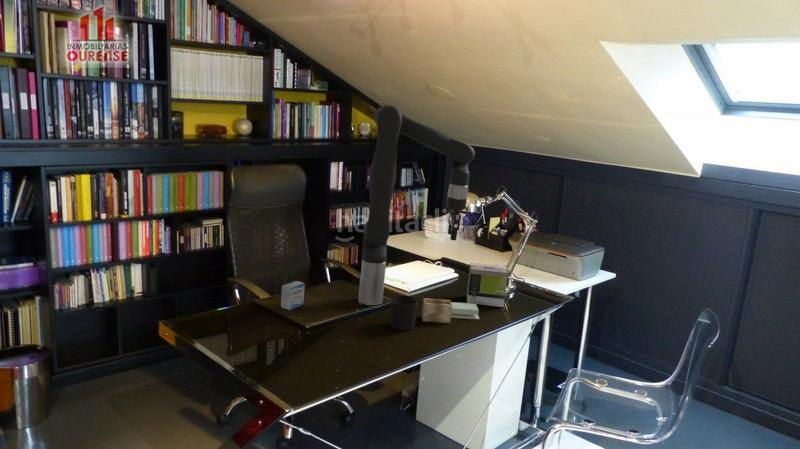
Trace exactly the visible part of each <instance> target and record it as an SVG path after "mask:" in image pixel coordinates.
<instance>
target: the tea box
mask: <svg viewBox="0 0 800 449" xmlns="http://www.w3.org/2000/svg"><path fill="white" fill-rule="evenodd" d="M508 274H509V273H508V269H507V266H506V265H505V266H504V265H495V264H486V263H477V262H475V263H474V262H470V263H469V272H468V281H467V290H466V292H467V293H466V303H469V304H476V305H483V306H490V307H500V308H504V306H505V299H506V292H507V284H508V276H509V275H508Z"/></svg>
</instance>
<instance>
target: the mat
mask: <svg viewBox="0 0 800 449" xmlns="http://www.w3.org/2000/svg"><path fill="white" fill-rule="evenodd" d="M452 318H453V319H466V320H468V319H469V320H480V317H479V314H478V315H473V316H470V315H455V314H452V313H451V319H452Z"/></svg>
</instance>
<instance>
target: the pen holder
mask: <svg viewBox="0 0 800 449" xmlns="http://www.w3.org/2000/svg"><path fill="white" fill-rule="evenodd" d="M418 305H419V302H418V301H417V300H416V299H415V297H414V296H412V295H406V294H397V295H394V296H392V297H391V299H390V312H389V313H390V314H389V315H390V316H389V318H390V320H389V326H390V327H391V328H392V329H394V330H396V331H403V332H407V331H412V330H413V329H414V328H415V325H416V324H415V323H416V319H417V311H418Z"/></svg>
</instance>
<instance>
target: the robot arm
mask: <svg viewBox="0 0 800 449" xmlns="http://www.w3.org/2000/svg"><path fill="white" fill-rule="evenodd" d="M373 119H374V123H375V124H376V126H377V140H376V141H377V142H376V147H375V151H374V155H373V158H372V161H371V165H370V174H369V185H368V186H369V192H368V193H369V214H368V220H367V221H366V222H365V224H364V227H363V239H362V250H361V251H362V254H361V255H362V256H361V257H362V258H361V270H360V276H359V288H358V290H359V291H358V303H362V304H365V305H378V304H381V303H382V304H383V300H384V286H385V277H386V276H385V275H386V267H387V266H386V265H387V257H388V251H387V250H388V239H389V237H390V234H391V233H390V232H391V231H390V211H391V204H392V201H393V200H392V199H393V194H394V189H395V182H396V173H397V172H396V171H397V157H398V154H397V153H398V152H397V150H398V141H399V136H400V135H403V136H406V137H408V138H410V139H411V140H413V141H416V142H417V143H420V144H421V145H422V146H424V147H427V148H429V149H431V150H433V151H435V152H438V153H439V154H442V155H445V156H447V157H449V158H451V160H450V161H451V162H450V163H451V173H450V178H449V180H450V181H449V186H448V188H447V197H446V204H445V205H446V206H445V207H446V208H447V209H449V213H448V219H447V222H448V228H447V234H448V235H450V240H451V241H457V237H458V231H460V225H461V218H462V215H461V213H460V211H464V210H466V209H467V202H468V194H469V182H470V175H471V174H470V171H469V164H470V163H471V162H472V161H473V160H474V159H475V156H476V152H475V150H474V148H473V147H472V146H471V145H470V144H467V143H465V142H462V141H460V140H457V139H454V138H453V137H451V136H450V135H448V134H445V133H443V132H441V131H439V130H437V129H435V128H433V127H430V126H427V125H425V124H422V123H419V122H417V121H415V120H413V119H411V118H409V117H407V116H406V115H404V114H403V113H402V112H401V111H400V110H399V108H397V107H396V106H393V105H389V104H385V105H384V104H383V105H381V106H380V107H378V108H377V109H376V110H375V113H374V117H373ZM362 304H361V305H362ZM382 304H381V305H382ZM365 305H364V306H365Z"/></svg>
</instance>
